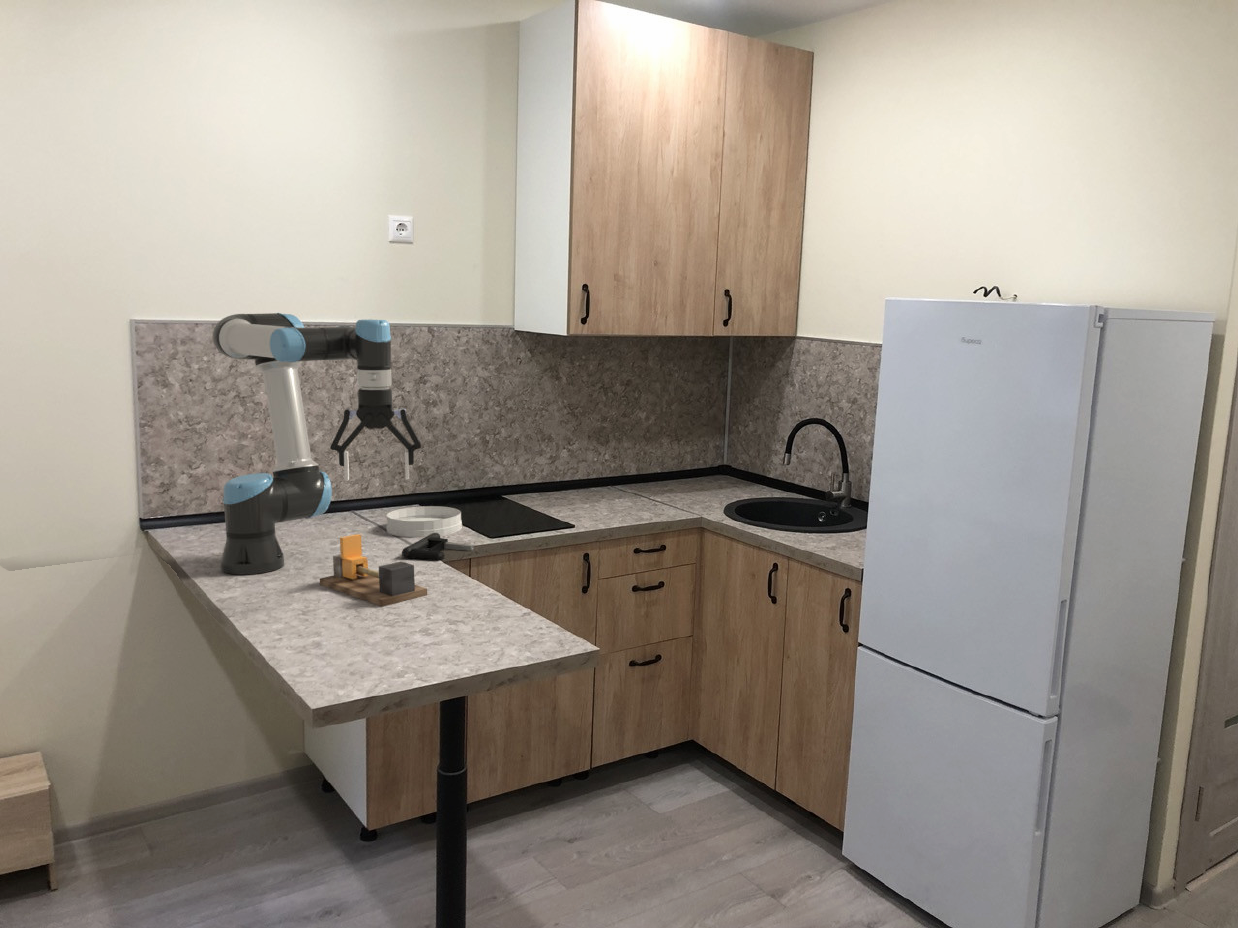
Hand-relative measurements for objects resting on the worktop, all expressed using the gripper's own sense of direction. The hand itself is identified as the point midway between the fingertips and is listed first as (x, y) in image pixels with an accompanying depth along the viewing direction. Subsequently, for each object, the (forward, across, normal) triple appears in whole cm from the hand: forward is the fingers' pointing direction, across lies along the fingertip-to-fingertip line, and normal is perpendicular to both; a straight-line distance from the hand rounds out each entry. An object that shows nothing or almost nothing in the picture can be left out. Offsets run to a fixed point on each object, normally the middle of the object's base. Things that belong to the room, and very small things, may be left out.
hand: (377, 479), depth 226 cm
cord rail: (+26, -2, -2) cm, 26 cm away
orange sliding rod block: (+24, -6, +3) cm, 25 cm away
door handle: (+27, +14, +32) cm, 44 cm away
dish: (+28, +10, +61) cm, 67 cm away
